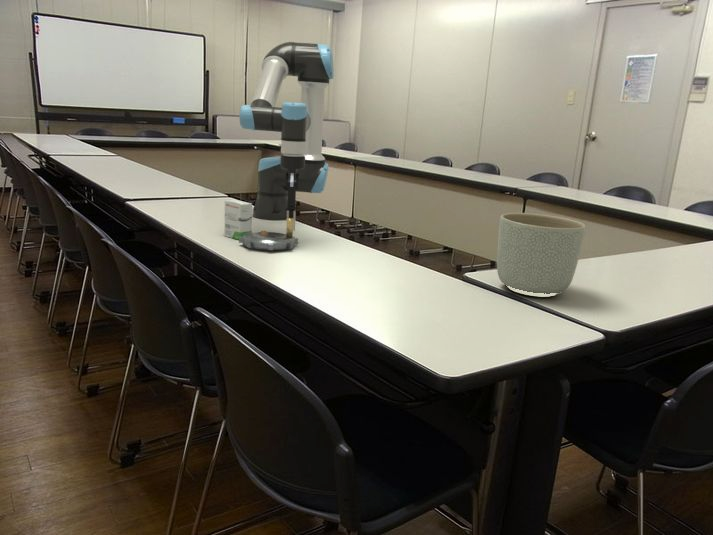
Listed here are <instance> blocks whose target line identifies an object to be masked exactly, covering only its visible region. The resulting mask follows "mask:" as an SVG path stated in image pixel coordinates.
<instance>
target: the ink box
mask: <svg viewBox="0 0 713 535" xmlns="http://www.w3.org/2000/svg"><path fill="white" fill-rule="evenodd" d="M252 219H253V203H251V202H247V201H242V200H239V199H231V200H230V199H228V200H227V199H226V200H225V201H224V233H223V234H224V237H227V238H230V239H234V240H237V241H239V237H243V235H245V234H246V233H253V232H252V230H253V229H252V227H253V226H252V225H253V224H252V223H253V220H252Z"/></svg>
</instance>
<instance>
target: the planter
mask: <svg viewBox="0 0 713 535" xmlns="http://www.w3.org/2000/svg"><path fill="white" fill-rule="evenodd" d="M586 226H587V225H586V224H584V222H580V221H578V220H574V219H571V218H566V217H561V216H556V215H555V216H554V215H548V214H541V213H530V212H508V213H503V214H501V215H500V218H499V227H498V239H497V254H496V269H497V270H496V271H497V276H498V279H499V281H500V282H501V284H503V283H504V284H505V285H507V286H510V287H512V288H515V289H519V290H523V291H527V292H533V293H544V294H545V293H546V294H550V293H560V292H562V293H563V292H565V291H566V290H567V289H568V288H569V287H570V286H571V284H572V281H573V279H574V276H575V273H576V270H577V266H578V263H579V258H580V255H581V251H582V248H583V243H584V240H585V239H584V238H585V235H586V234H585V233H586V229H587V228H586ZM504 284H503V285H504ZM505 285H504V286H505ZM560 294H561V293H560Z"/></svg>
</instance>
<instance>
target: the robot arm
mask: <svg viewBox="0 0 713 535" xmlns="http://www.w3.org/2000/svg"><path fill="white" fill-rule="evenodd" d="M334 71H335V70H334V57H333V50H332V48H331V47H330V45H328V44H323V43H308V42H295V41H286V42H282V43H280V44H278V45H276V46H274V47H273V48H271V50H270V51H268V52H267V54H266V55H265V56H264V59H262V62H261V74H260V77H259V81H258V82H257V85H256V88H255V92H254V95H253V97H252V100H251V103H250V104H243V105H242V106H241V107H240V110H239V125H240V126H241V128H242V129H243V130H244V129H245V130H250V131H251V130H252V131H261V132H262V131H264V132H277V133H281V134H280V135H281V137H280V141H281V142H279V143H278V146H279V147H281V148H280V153H281V155H280V156H271V157H264V158H261V159H260V160H259V162H258V169H257V172H258V176H257V178H258V179H257V197H256V201H255V203H254V206H253V207H252V217H254V218H258V219H261V220H270V221H271V220H274V221H275V220H278V221H281V220H287V218H294V220H293V232H295V231H296V210H298V206H297V203H296V199H297V198H296V196H297V193H298V192H299V193H310V194H321V193H323V192H324V190H325V187H326V184H327V183H326V182H327V178H328V173H329V163H327V162H326V158H325V156H323V154H322V148H323V147H322V146H323V131H324V129H323V128H324V127H323V126H324V108H325V94H326V93H325V89H326V88H327V87H328V86H329V85H330V80H333V79H334V76H335V75H334V74H335V73H334ZM287 77H297V84H298V85H300V87H301V88H300V89H301V90H300V92H301V93H300V102H289V101H286V102H283V103H282V105H281V107H277V106H276V104H277V100H278V97H279V94H280V90H281V87H282V84H283V80H285V79H286V78H287ZM285 229H286V231H287V225H286V228H285Z"/></svg>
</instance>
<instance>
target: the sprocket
mask: <svg viewBox="0 0 713 535" xmlns="http://www.w3.org/2000/svg"><path fill="white" fill-rule="evenodd" d="M293 220H294V218H287V219H286V226H287V230H286V233H282V232H273V231H266V230H260V231H257V232H256V231H255V232H252V233H246V234H245V235H243V237H239V240H238V243H239V244H242V245H243V246H245V247H246V248H248V249H249V248H250V249H256V250H266V251H279V250H288V249H289V250H291V249H293V248H294V247H295V245H299V238H296V237H295V236H294V231H293Z"/></svg>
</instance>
